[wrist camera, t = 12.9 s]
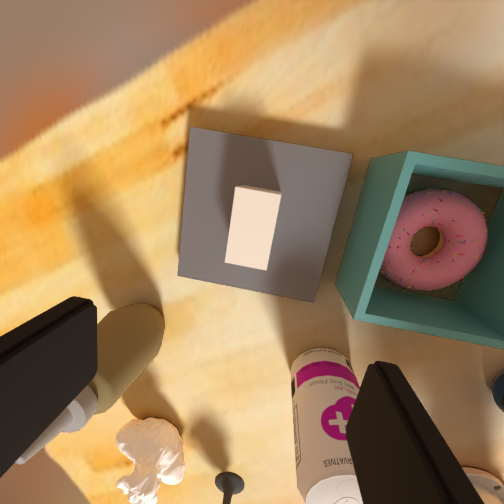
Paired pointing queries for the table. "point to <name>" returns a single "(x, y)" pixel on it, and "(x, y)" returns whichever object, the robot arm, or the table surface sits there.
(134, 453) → the white tied bag
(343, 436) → the supplement can
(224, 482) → the sundae
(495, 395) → the soda can
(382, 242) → the pastry box
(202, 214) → the lid
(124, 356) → the squeeze bottle
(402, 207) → the doughnut
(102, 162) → the table surface
